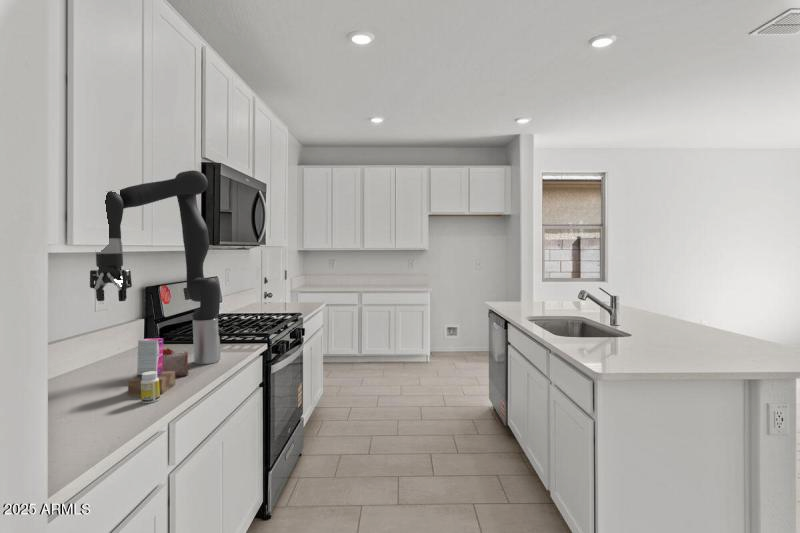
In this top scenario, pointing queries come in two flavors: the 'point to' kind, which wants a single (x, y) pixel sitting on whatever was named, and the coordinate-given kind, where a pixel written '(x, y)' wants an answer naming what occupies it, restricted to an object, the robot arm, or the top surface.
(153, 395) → the supplement bottle
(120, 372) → the top surface
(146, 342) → the supplement box
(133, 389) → the tan block
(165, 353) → the food item
